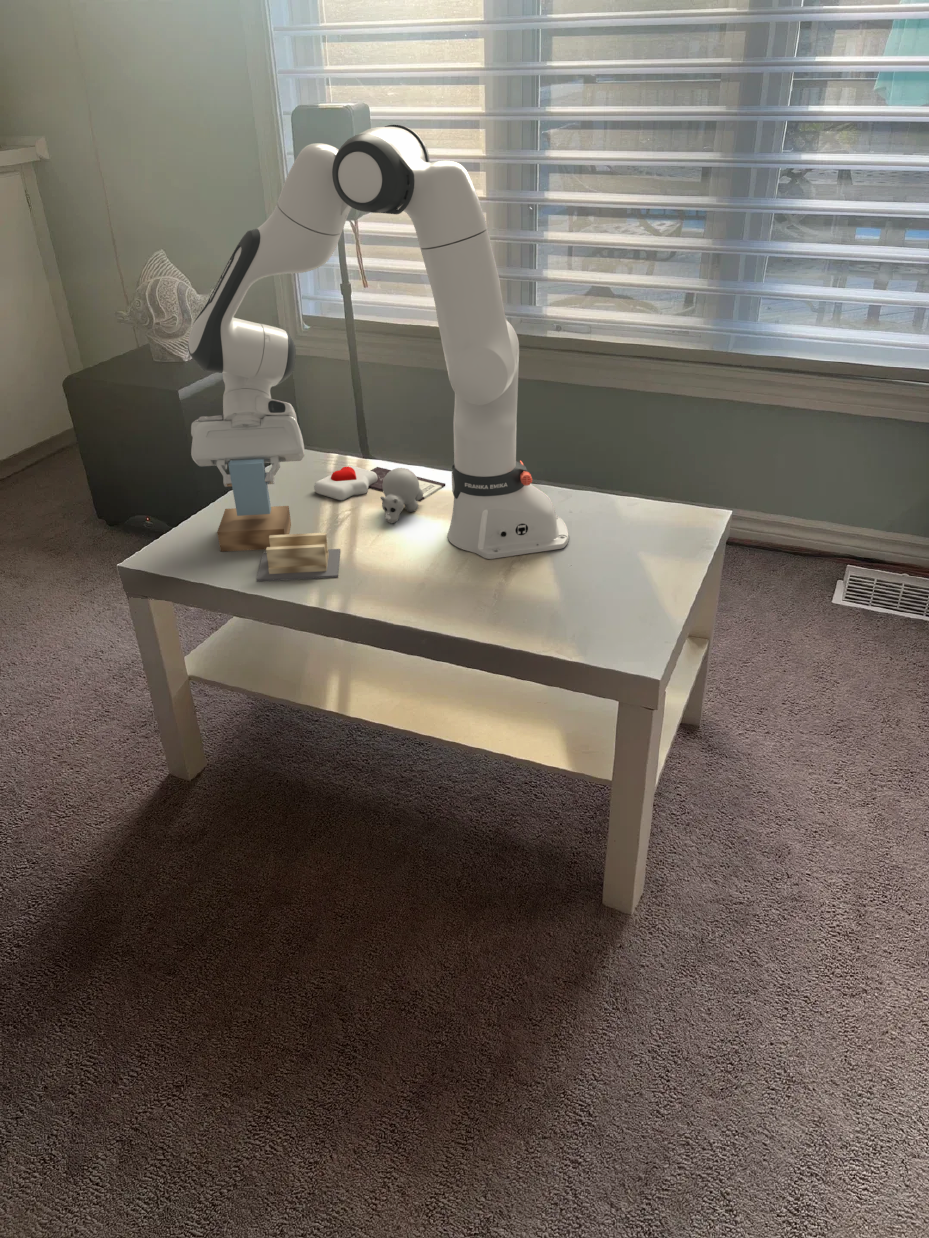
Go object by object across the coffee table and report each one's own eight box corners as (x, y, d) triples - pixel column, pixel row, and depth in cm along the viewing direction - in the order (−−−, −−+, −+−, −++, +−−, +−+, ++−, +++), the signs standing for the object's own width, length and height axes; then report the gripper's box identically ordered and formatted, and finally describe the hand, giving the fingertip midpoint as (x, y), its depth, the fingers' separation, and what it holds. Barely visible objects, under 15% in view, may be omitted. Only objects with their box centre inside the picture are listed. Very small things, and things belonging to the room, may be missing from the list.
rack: (328, 555, 166) (326, 531, 164) (326, 573, 161) (324, 548, 158) (273, 558, 166) (269, 534, 163) (269, 576, 160) (265, 551, 157)
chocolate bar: (377, 466, 200) (445, 483, 192) (377, 470, 201) (445, 487, 192) (351, 481, 194) (420, 499, 185) (351, 485, 194) (420, 503, 186)
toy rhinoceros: (374, 532, 180) (363, 501, 173) (396, 489, 186) (386, 458, 180) (408, 537, 178) (398, 506, 171) (429, 493, 184) (420, 462, 177)
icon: (346, 485, 183) (309, 475, 188) (348, 505, 185) (311, 494, 190) (385, 466, 191) (349, 456, 196) (386, 485, 194) (351, 475, 199)
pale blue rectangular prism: (271, 509, 171) (263, 459, 166) (270, 513, 169) (262, 463, 164) (238, 511, 171) (230, 460, 165) (237, 515, 169) (228, 465, 164)
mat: (340, 550, 168) (340, 548, 168) (337, 577, 159) (337, 575, 159) (263, 554, 167) (263, 552, 167) (256, 581, 159) (256, 579, 158)
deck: (291, 524, 177) (288, 505, 175) (286, 548, 169) (283, 528, 167) (228, 527, 177) (225, 508, 175) (220, 551, 168) (217, 532, 166)
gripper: (186, 409, 166) (186, 481, 163) (299, 403, 167) (302, 474, 164) (195, 424, 172) (195, 494, 169) (304, 419, 173) (307, 487, 170)
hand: (249, 484), depth 166 cm, fingers closed on pale blue rectangular prism, 6 cm apart
